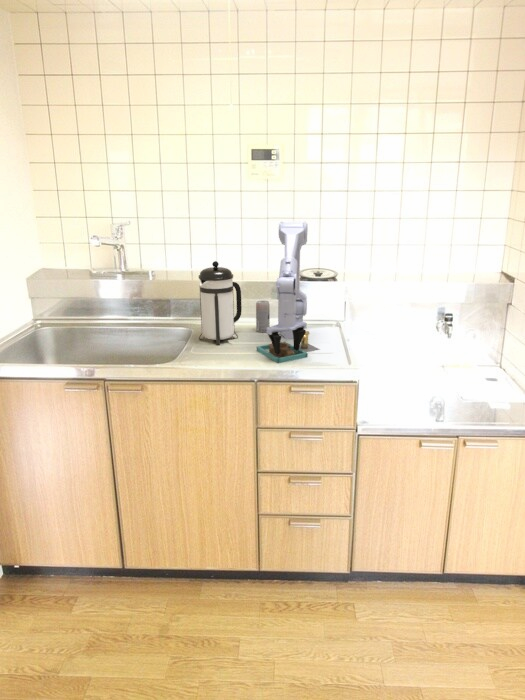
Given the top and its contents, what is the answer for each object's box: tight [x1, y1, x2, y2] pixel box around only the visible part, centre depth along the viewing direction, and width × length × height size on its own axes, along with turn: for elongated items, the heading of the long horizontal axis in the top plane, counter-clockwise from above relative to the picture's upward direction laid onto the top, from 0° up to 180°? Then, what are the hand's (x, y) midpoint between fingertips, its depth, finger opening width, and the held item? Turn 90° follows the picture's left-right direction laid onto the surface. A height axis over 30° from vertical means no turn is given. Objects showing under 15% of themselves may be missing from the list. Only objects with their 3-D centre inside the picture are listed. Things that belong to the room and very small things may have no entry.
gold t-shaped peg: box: [300, 330, 310, 349], centre depth 182 cm, size 2×3×6 cm
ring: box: [268, 341, 295, 358], centre depth 177 cm, size 11×7×3 cm, turn 29°
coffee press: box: [198, 260, 242, 346], centre depth 194 cm, size 17×16×30 cm
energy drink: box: [255, 300, 271, 334], centre depth 205 cm, size 5×5×12 cm
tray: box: [256, 341, 309, 364], centre depth 178 cm, size 15×12×2 cm
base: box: [299, 343, 321, 353], centre depth 183 cm, size 8×8×1 cm
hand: (286, 351), depth 174 cm, fingers open, 7 cm apart
